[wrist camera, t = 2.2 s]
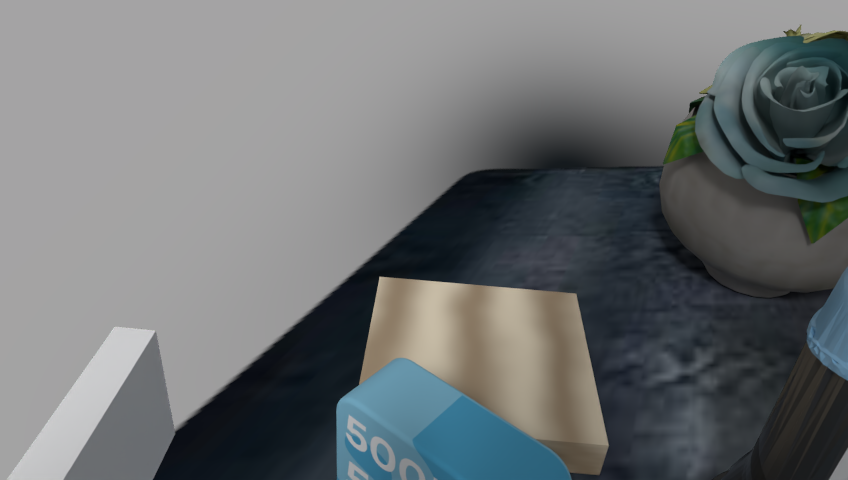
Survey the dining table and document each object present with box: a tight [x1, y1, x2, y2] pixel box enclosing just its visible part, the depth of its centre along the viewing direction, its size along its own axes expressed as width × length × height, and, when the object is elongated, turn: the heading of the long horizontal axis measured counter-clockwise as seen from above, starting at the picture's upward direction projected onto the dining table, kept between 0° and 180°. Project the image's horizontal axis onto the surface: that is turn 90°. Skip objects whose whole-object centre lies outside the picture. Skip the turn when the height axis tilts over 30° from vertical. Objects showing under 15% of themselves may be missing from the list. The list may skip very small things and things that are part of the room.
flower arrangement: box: [659, 25, 848, 298], centre depth 62 cm, size 25×25×24 cm
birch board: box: [359, 277, 609, 475], centre depth 53 cm, size 17×16×3 cm
